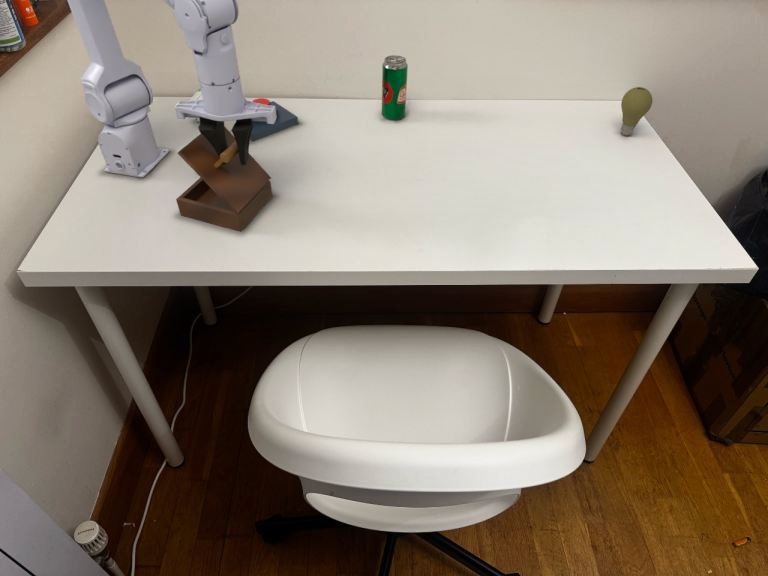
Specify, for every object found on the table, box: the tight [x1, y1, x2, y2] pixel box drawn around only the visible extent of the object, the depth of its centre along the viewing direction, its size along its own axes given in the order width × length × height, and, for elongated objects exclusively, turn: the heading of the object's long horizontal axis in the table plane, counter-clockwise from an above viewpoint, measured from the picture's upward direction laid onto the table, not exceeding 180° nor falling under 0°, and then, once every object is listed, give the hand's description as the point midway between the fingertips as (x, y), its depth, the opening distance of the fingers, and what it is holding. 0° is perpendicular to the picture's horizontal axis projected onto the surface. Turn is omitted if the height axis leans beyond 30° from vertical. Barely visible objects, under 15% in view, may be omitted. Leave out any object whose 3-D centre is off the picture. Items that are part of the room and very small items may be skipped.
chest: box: [175, 176, 274, 233], centre depth 95 cm, size 12×11×3 cm
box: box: [250, 100, 299, 142], centre depth 116 cm, size 11×9×4 cm
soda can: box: [381, 54, 409, 121], centre depth 116 cm, size 5×5×12 cm
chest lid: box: [177, 126, 272, 214], centre depth 89 cm, size 12×11×5 cm
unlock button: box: [251, 97, 271, 105], centre depth 114 cm, size 4×4×2 cm
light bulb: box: [620, 86, 653, 137], centre depth 113 cm, size 6×6×10 cm
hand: (235, 161), depth 89 cm, fingers closed on chest lid, 2 cm apart
